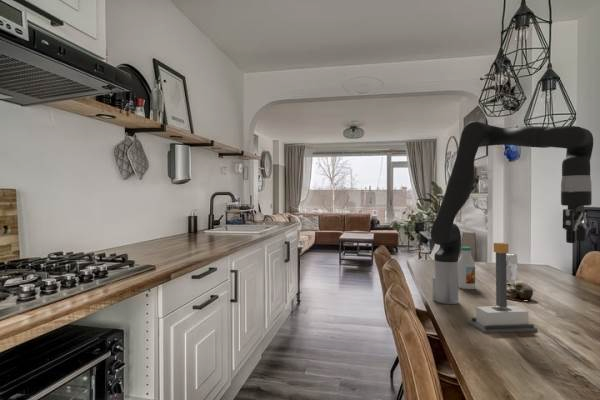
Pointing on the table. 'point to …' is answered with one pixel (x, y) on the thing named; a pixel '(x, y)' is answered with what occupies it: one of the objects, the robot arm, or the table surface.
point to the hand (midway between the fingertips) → (576, 242)
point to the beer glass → (511, 268)
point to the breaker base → (501, 319)
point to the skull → (519, 291)
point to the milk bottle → (466, 269)
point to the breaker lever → (501, 274)
